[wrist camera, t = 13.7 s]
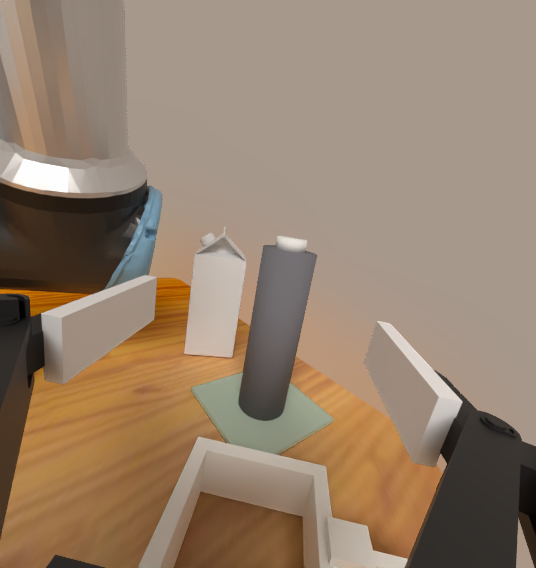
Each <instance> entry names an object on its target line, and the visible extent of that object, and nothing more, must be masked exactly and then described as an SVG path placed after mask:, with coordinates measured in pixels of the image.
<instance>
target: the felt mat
mask: <svg viewBox="0 0 536 568" xmlns="http://www.w3.org/2000/svg"><path fill="white" fill-rule="evenodd" d="M242 375H243V372H242V373H239V374H235V375H232V376H228V377H225V378H221V379H218V380H215V381H211V382H208V383H204V384H201V385H197V386H194V387H191V391H192V393H193V394H194V396H195V397H196V399H197V400H198V402H199V403H200V405H201V406H202V407H203V409H204V410H205V412H206V413H207V415H208V416H209V418H210V419H211V421H212V422H213V424H214V425H215V426H216V428H217V429H218V431H219V432H220V434H221V435H222V437H223V438H224V440H225V441H226V442H227V443H229V444H233V445H237V446H241V447H246V448H250V449H254V450H259V451H263V452H267V453H271V454H276V455H279V454H281V453H282V452H284V451H286V450H287V449H289V448H291V447H293V446H294V445H296V444H298V443H299V442H301V441H303V440H304V439H306V438H308V437H309V436H311V435H313V434H314V433H316V432H318V431H319V430H321V429H323V428H324V427H326V426H328V425H329V424H331V423H333V420H334V418H333V417H331V416H330V415H329V414H328V413H326V412H325V411H324V410H323V409H322V408H320V407H319V406H318V405H317V404H316V403H314V402H313V401H312V400H311V399H310V398H308V397H307V396H306V395H305V394H304V393H302V392H301V391H300V390H299V389H298V388H296V387H295V386H294V385H293V384H292V383H290V384H289V389H288V394H287V398H286V403H285V408H284V411H283V413H282V415H281V416H280V417H278V418H276V419H274V420H269V421H261V420H256V419H253V418H251V417H249V416H247V415H246V414H245V413H244V412H243V411H242V410H241V409H240V407H239V403H238V400H239V393H240V387H241V381H242Z"/></svg>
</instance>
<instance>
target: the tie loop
mask: <svg viewBox="0 0 536 568" xmlns="http://www.w3.org/2000/svg"><path fill="white" fill-rule="evenodd" d="M200 492H204V493H208V494H212V495H216V496H220V497H224V498H228V499H233V500H237V501H241V502H245V503H249V504H253V505H257V506H261V507H265V508H269V509H273V510H277V511H281V512H285V513H289V514H293V515H297V516H301V517H303V557H304V568H405V565H406V563H407V560H408V559H406V558H402V557H398V556H394V555H390V554H386V553H382V552H378V551H374V550H373V549H372V544H371V540H370V536H369V531H368V527H367V526H365V525H361V524H357V523H353V522H349V521H345V520H341V519H337V518H333V517H332V512H331V504H330V495H329V487H328V479H327V471H326V466H323V465H319V464H314V463H310V462H306V461H302V460H297V459H293V458H289V457H284V456H280V455H276V454H271V453H267V452H263V451H259V450H254V449H250V448H246V447H241V446H237V445H233V444H229V443H224V442H220V441H216V440H211V439H207V438H203V437H198V438H197V441H196V443H195V445H194V447H193V449H192V451H191V454H190V456H189V458H188V460H187V462H186V464H185V467H184V469H183V471H182V473H181V475H180V477H179V480H178V482H177V484H176V486H175V488H174V490H173V493H172V495H171V497H170V499H169V501H168V503H167V506H166V508H165V510H164V512H163V514H162V516H161V519H160V521H159V523H158V525H157V527H156V529H155V532H154V534H153V536H152V538H151V540H150V542H149V545H148V547H147V549H146V551H145V553H144V555H143V558H142V560H141V562H140V564H139V566H138V568H174V565H175V562H176V560H177V557H178V554H179V551H180V548H181V546H182V543H183V540H184V537H185V534H186V532H187V529H188V526H189V523H190V520H191V518H192V515H193V512H194V509H195V506H196V504H197V501H198V498H199V495H200Z"/></svg>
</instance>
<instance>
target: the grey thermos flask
mask: <svg viewBox="0 0 536 568" xmlns="http://www.w3.org/2000/svg"><path fill="white" fill-rule="evenodd" d="M306 246H307V241H306V240H302V239H298V238H292V237H286V236H277V241H276V246H274V245H264V246H263V253H262V258H261V264H260V270H259V277H258V283H257V289H256V295H255V301H254V307H253V313H252V320H251V326H250V332H249V338H248V344H247V350H246V356H245V363H244V369H243V375H242V381H241V387H240V393H239V400H238V403H239V407H240V409H241V410H242V411H243V412H244V413H245V414H246V415H247V416H249V417H251V418H253V419H256V420H261V421H269V420H274V419H276V418H278V417H280V416H281V415H282V413H283V411H284V408H285V403H286V398H287V394H288V389H289V384H290V380H291V375H292V370H293V366H294V361H295V356H296V351H297V346H298V342H299V338H300V333H301V328H302V323H303V319H304V314H305V309H306V305H307V300H308V295H309V291H310V286H311V281H312V277H313V272H314V267H315V262H316V258H317V255H316V254H314V253H311V252H307V251H306Z"/></svg>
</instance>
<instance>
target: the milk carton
mask: <svg viewBox="0 0 536 568" xmlns="http://www.w3.org/2000/svg"><path fill="white" fill-rule="evenodd" d="M225 230H226V226H225V227H224V233H223V234H221V235H220V236H218V237H216V238H215V236H214V235H213V233H209V234H207V235H206V236H204V237H203V238H201V239H200V242H201V243H202V245H203V246H202V247H201V248H200V249H199V250H198V251H197V253H196V254H195V255H194V263H193V272H192V282H191V292H190V302H189V312H188V321H187V331H186V341H185V351H184V354H187V355H201V356H214V357H229V358H232V357H233V350H234V344H235V337H236V330H237V324H238V316H239V310H240V303H241V297H242V290H243V284H244V277H245V271H246V264H247V261H246V259H245V256H244V254H243V253H242V252H241V251H240V249H239V248H238V247H237V246H236V245H235V244H234V243H233V242H232V240H231V239H230V238H229V237H228V236H227V235H226V234H225Z"/></svg>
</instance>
